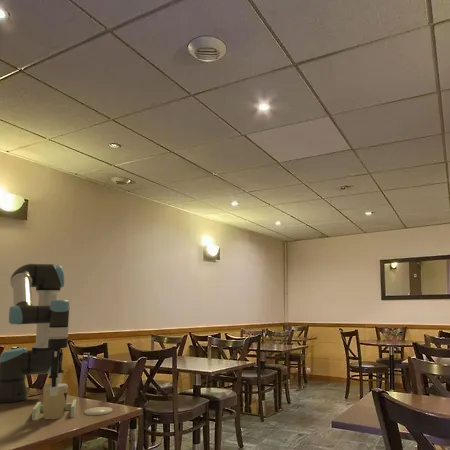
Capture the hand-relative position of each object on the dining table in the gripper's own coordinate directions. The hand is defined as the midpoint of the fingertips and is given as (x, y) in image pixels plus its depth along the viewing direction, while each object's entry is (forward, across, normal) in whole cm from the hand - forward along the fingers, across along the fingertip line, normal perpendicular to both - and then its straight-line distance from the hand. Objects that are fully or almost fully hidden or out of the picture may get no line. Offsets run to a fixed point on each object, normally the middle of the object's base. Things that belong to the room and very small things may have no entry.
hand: (55, 392), depth 175 cm
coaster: (+9, -2, +17) cm, 19 cm away
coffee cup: (+9, 0, 0) cm, 9 cm away
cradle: (+9, -4, 0) cm, 10 cm away
